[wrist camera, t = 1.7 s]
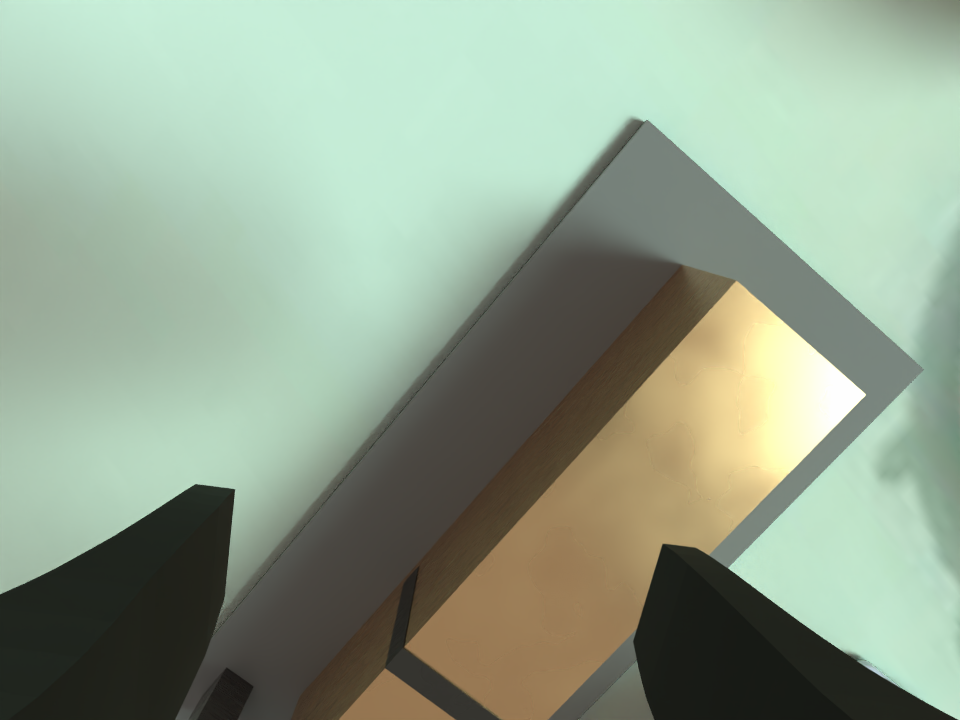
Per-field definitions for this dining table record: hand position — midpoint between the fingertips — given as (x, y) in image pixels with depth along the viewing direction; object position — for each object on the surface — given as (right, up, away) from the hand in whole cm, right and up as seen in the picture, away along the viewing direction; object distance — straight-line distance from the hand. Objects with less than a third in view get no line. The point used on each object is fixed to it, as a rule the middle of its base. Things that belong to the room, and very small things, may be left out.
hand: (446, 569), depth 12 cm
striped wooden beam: (+2, -2, +12) cm, 13 cm away
